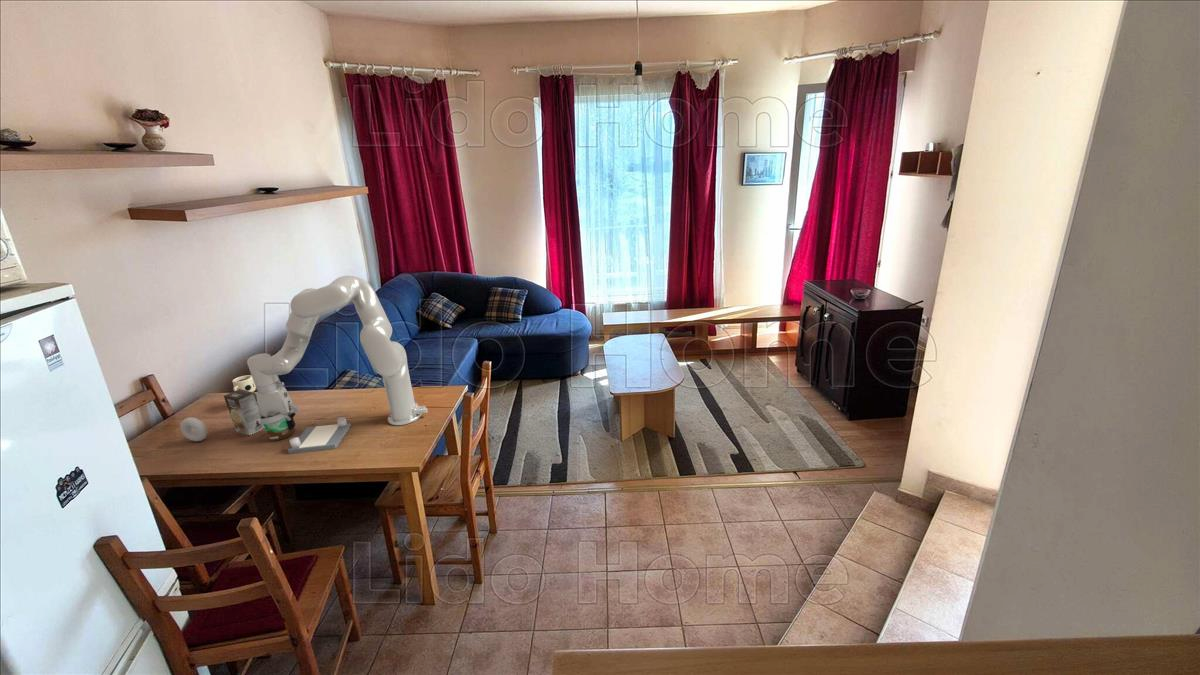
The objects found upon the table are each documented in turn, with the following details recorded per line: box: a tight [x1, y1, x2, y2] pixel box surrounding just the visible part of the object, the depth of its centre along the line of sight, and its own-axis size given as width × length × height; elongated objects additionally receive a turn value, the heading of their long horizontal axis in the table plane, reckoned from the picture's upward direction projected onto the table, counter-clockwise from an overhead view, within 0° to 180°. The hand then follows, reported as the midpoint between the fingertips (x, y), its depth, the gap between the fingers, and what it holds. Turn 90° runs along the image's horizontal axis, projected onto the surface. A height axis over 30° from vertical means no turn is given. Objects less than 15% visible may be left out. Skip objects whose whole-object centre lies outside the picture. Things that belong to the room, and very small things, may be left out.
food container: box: [261, 409, 296, 442], centre depth 187 cm, size 12×6×10 cm, turn 170°
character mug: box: [232, 374, 257, 403], centre depth 213 cm, size 11×7×13 cm, turn 175°
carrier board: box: [287, 416, 352, 455], centre depth 184 cm, size 16×16×4 cm
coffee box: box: [223, 389, 264, 436], centre depth 192 cm, size 9×6×16 cm
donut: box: [180, 416, 208, 442], centre depth 187 cm, size 10×4×10 cm, turn 79°
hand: (283, 429), depth 188 cm, fingers closed on food container, 5 cm apart
